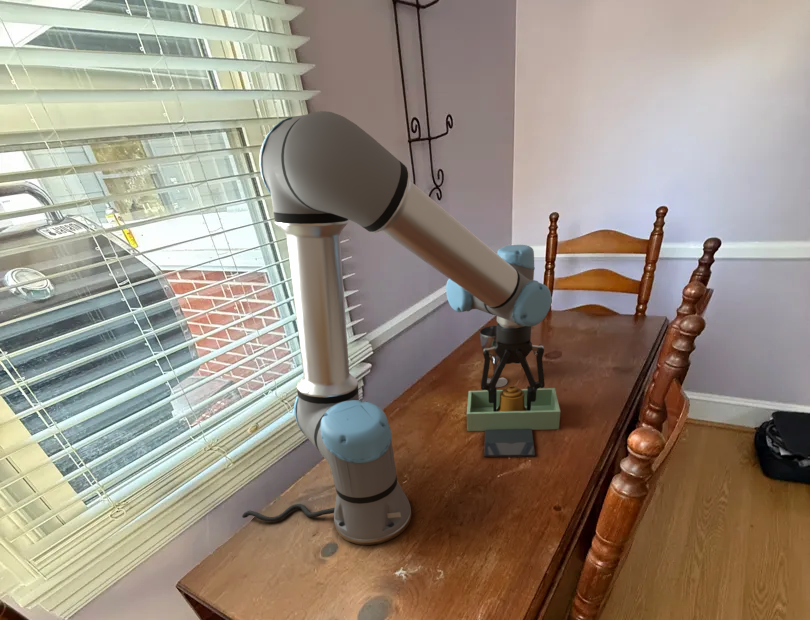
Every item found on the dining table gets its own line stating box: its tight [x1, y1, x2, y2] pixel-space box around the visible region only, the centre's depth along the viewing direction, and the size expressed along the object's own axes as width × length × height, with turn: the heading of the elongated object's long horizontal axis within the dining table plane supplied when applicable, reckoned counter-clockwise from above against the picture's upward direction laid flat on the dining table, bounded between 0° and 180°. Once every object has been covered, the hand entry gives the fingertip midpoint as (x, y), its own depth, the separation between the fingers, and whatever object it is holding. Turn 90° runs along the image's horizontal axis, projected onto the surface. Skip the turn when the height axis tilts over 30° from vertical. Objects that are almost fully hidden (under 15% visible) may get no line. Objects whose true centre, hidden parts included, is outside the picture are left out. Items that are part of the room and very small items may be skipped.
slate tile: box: [483, 429, 536, 458], centre depth 110 cm, size 11×11×1 cm
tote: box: [466, 387, 561, 432], centre depth 118 cm, size 22×12×5 cm, turn 82°
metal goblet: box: [479, 325, 509, 389], centre depth 132 cm, size 8×8×15 cm
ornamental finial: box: [496, 384, 527, 412], centre depth 117 cm, size 8×8×8 cm
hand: (511, 412), depth 119 cm, fingers closed on ornamental finial, 7 cm apart
